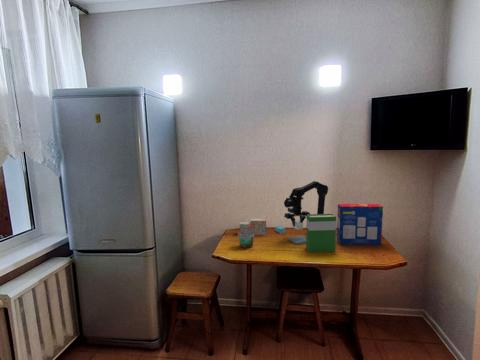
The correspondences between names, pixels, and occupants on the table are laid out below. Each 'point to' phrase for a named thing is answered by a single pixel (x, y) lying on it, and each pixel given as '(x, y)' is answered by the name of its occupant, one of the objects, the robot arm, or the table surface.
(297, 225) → the cream brick
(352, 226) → the blue product box
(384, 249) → the table surface
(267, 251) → the table surface
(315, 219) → the green cereal box
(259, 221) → the stack of blocks
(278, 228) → the teal brick
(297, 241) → the baseplate
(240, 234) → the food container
